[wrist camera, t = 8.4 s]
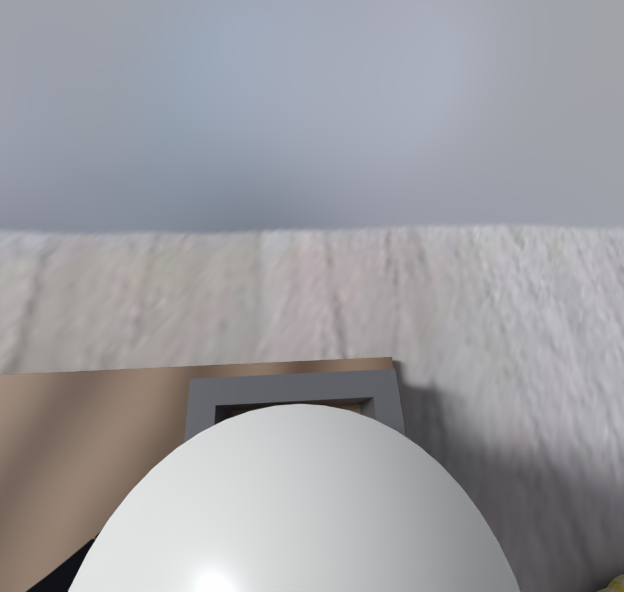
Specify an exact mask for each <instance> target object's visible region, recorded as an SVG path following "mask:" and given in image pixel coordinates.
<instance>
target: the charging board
mask: <svg viewBox="0 0 624 592" xmlns="http://www.w3.org/2000/svg"><path fill="white" fill-rule="evenodd" d="M382 369H393V362H392V357H383V358H361V359H339V360H317V361H295V362H273V363H252V364H230V365H208V366H186V367H164V368H142V369H121V370H99V371H77V372H55V373H33V374H11V375H0V592H26V591H27V590H28V589H30V588H31V587H32V586H34V585H35V584H36V583H38V582H39V581H40V580H42V579H43V578H44V577H46V576H47V575H48V574H49V573H51V572H52V571H53V570H54V569H56V568H57V567H58V566H59V565H61V564H62V563H63V562H64V561H65V560H67V559H68V558H69V557H70V556H72V555H73V554H74V553H75V552H76V551H78V550H79V549H80V548H81V547H82V546H84V545H85V544H86V543H87V542H88V541H89V540H91V539H92V538H93V539H95V536H96V535H97V534H98V533H99V532H100V531H101V530H102V529H103V527H104V526H105V524H106V523H107V521H108V520H109V518H110V517H111V516H112V515H113V513H114V512H115V511H116V509H117V508H118V507H119V506H120V504H121V503H122V502H123V500H124V499H125V498H126V497H127V495H128V494H129V493H130V492H131V491H132V489H133V488H134V487H135V486H136V485H137V484H138V483H139V482H140V481H141V480H142V479H143V478H144V477H145V476H146V475H147V474H148V473H149V472H150V471H151V470H152V469H153V468H154V467H155V466H156V465H157V464H158V463H160V462H161V461H162V460H163V459H164V458H166V457H167V456H168V455H169V454H170V453H171V452H173V451H174V450H175V449H176V448H178V447H179V446H181V445H182V444H184V437H185V427H186V417H187V406H188V396H189V386H190V379H195V378H216V377H236V376H257V375H278V374H299V373H320V372H340V371H361V370H382ZM330 407H334V408H339V409H344V410H349V411H352V412H355V413H358V414H360V415H361V412H360V404H349V405H331V406H330ZM249 411H252V410H239V411H231V418H232V417H235V416H237V415H240V414H243V413H246V412H249Z"/></svg>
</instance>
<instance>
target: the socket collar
mask: <svg viewBox="0 0 624 592" xmlns="http://www.w3.org/2000/svg"><path fill="white" fill-rule="evenodd" d="M292 404H309V405H324V406H331V405H349V404H360V412H361V415H363V416H366V417H369V418H372V419H374V420H376V421H378V422H380V423H382V424H384V425H386V426H388V427H390V428H392V429H394V430H396V431H398V432H399V433H401V434H402V435H403V436H405V437H406V433H405V426H404V420H403V414H402V407H401V401H400V395H399V388H398V382H397V376H396V369H382V370H361V371H340V372H320V373H299V374H278V375H257V376H236V377H216V378H195V379H190V386H189V396H188V406H187V417H186V427H185V437H184V443H185V442H187V441H188V440H190V439H191V438H193V437H194V436H196V435H197V434H199V433H200V432H202V431H204V430H206V429H208V428H210V427H212V426H214V425H216V424H218V423H220V422H222V421H224V420H226V419H229V418H231V411H239V410H257V409H262V408H267V407H272V406H278V405H292Z"/></svg>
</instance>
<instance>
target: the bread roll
mask: <svg viewBox="0 0 624 592" xmlns="http://www.w3.org/2000/svg"><path fill="white" fill-rule="evenodd" d="M596 592H624V574H622V575H619V576H617V577H615V578H614V579H612V581H611V582H610V583H609V585H608V587H606V588H604V589H602V590H599V591H596Z"/></svg>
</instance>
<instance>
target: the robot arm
mask: <svg viewBox="0 0 624 592" xmlns="http://www.w3.org/2000/svg"><path fill="white" fill-rule="evenodd" d="M101 531H102V530H101ZM101 531H100V532H101ZM100 532H99V533H98V534H97V535H96V536H95V539H93V538H92V539H91V540H89V541H88V542H87V543H86V544H85V545H84V546H82V547H81V548H80V549H79V550H78V551H76V552H75V553H74V554H73V555H72V556H70V557H69V558H68V559H67V560H65V561H64V562H63V563H62V564H61V565H59V566H58V567H57V568H56V569H54V570H53V571H52V572H51V573H49V574H48V575H47V576H46V577H44V578H43V579H42V580H40V581H39V582H38V583H36V584H35V585H34V586H32V587H31V588H30V589H28V590H27V591H26V592H68V591H69V588H70V587H71V585H72V583H73V581H74V579H75V577H76V575H77V573H78V571H79V569H80V567H81V565H82V563H83V561H84V559H85V557H86V555H87V553H88V551H89V550H90V548H91V547H92V545H93V543H94V542H95V540H96V539H97V537H98V535H99V534H100Z"/></svg>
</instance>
